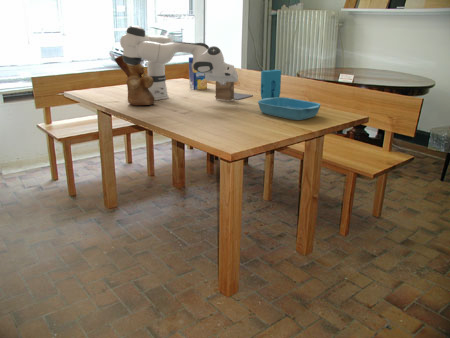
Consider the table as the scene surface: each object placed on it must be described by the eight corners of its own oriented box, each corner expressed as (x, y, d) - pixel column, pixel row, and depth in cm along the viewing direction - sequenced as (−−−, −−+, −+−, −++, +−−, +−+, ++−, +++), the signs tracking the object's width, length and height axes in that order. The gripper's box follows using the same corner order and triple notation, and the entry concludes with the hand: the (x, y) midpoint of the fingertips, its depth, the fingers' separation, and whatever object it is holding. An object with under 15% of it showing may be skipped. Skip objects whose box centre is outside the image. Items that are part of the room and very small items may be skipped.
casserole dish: (249, 112, 254) (250, 99, 251) (276, 107, 268) (276, 95, 266) (301, 124, 228) (302, 110, 226) (328, 117, 242) (329, 104, 240)
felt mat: (237, 100, 287) (237, 99, 286) (215, 97, 297) (215, 96, 297) (253, 96, 300) (253, 95, 300) (231, 93, 310) (231, 92, 310)
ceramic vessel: (151, 106, 265) (146, 53, 256) (115, 107, 268) (109, 55, 259) (158, 101, 280) (154, 52, 271) (125, 102, 283) (119, 53, 274)
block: (275, 102, 280) (276, 69, 273) (280, 103, 276) (281, 70, 269) (259, 104, 274) (260, 70, 268) (264, 105, 270) (265, 71, 264)
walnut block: (228, 101, 283) (228, 75, 277) (215, 99, 288) (215, 74, 283) (233, 100, 287) (234, 74, 282) (221, 98, 293) (221, 73, 287)
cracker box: (207, 88, 329) (206, 57, 322) (193, 89, 324) (193, 58, 317) (202, 87, 335) (202, 56, 327) (189, 88, 329) (188, 57, 322)
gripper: (201, 72, 268) (206, 87, 280) (234, 74, 263) (238, 89, 275) (203, 64, 271) (208, 79, 283) (236, 65, 266) (240, 81, 278)
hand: (223, 84), depth 279 cm, fingers closed
